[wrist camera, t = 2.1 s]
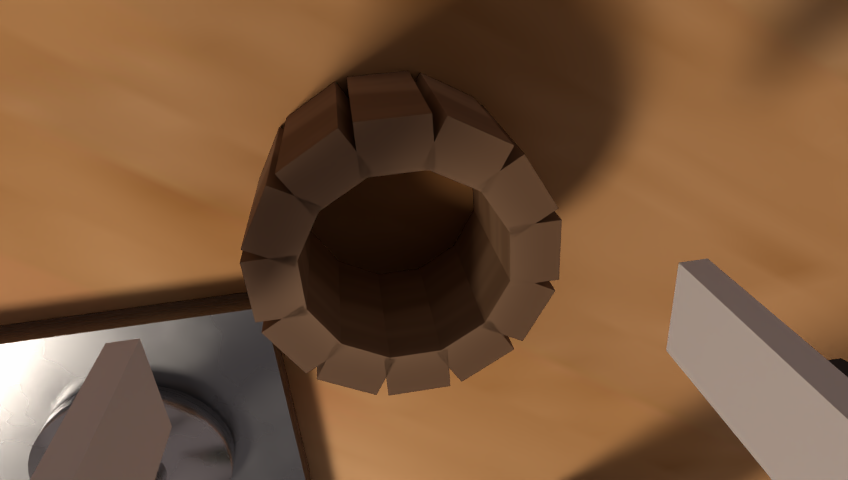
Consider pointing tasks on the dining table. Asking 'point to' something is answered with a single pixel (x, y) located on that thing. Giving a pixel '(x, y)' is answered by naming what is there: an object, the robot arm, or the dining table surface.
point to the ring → (405, 290)
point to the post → (160, 388)
